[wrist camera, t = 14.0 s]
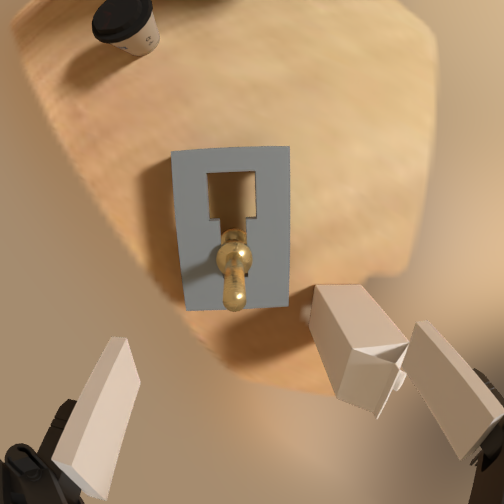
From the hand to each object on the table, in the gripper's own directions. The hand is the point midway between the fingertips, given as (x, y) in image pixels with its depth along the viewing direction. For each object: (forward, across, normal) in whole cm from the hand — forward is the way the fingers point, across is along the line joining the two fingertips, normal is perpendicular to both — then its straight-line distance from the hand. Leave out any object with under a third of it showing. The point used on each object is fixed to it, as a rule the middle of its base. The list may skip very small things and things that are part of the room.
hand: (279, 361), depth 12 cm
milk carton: (+26, +12, -13) cm, 32 cm away
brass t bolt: (+25, -2, -3) cm, 25 cm away
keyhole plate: (+26, -2, 0) cm, 26 cm away
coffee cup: (+27, -14, +24) cm, 39 cm away
